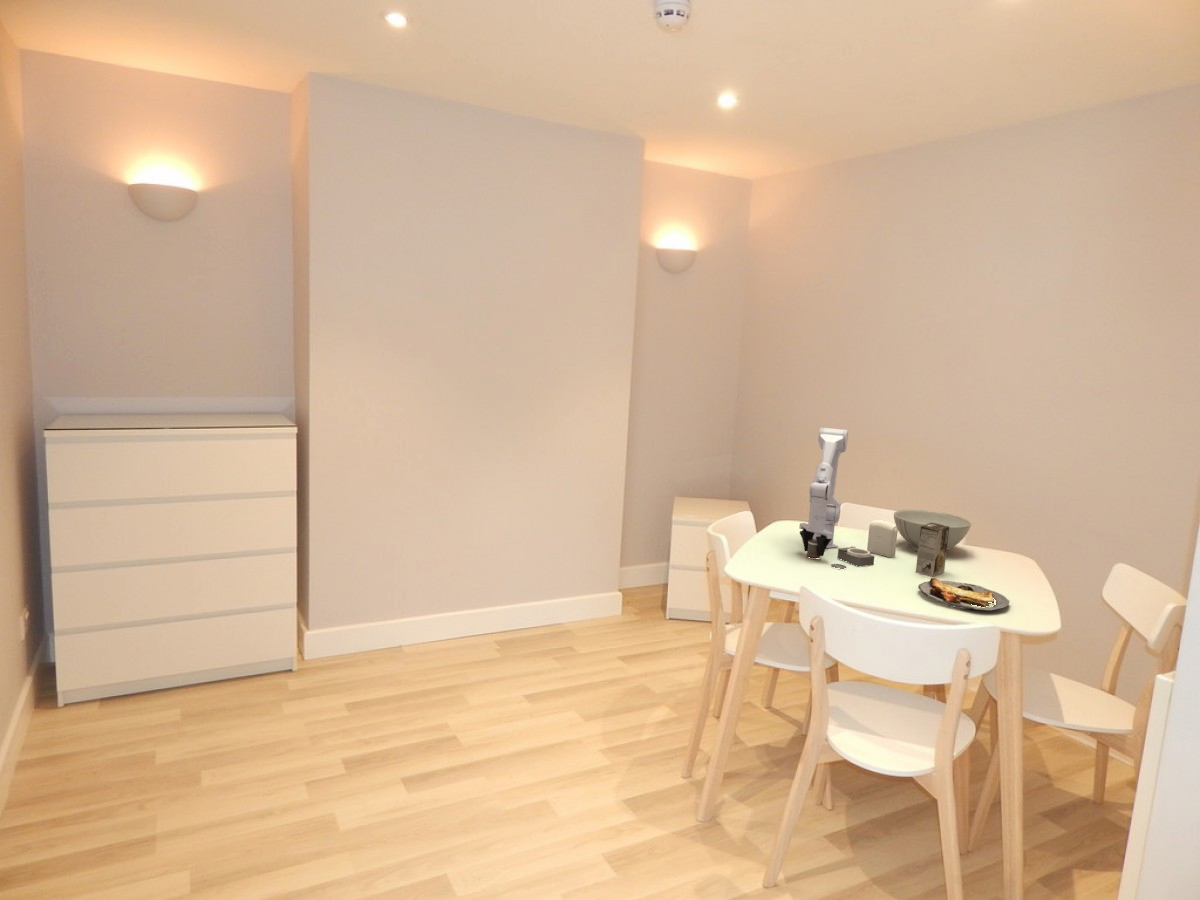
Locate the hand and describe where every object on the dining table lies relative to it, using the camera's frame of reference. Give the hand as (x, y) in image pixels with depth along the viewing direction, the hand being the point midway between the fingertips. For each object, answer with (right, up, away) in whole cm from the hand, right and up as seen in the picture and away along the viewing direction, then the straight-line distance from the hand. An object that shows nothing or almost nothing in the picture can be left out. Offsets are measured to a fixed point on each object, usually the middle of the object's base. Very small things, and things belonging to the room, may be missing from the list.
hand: (813, 553), depth 272 cm
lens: (0, -1, 0) cm, 1 cm away
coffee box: (+36, -5, -10) cm, 38 cm away
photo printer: (+27, -2, +9) cm, 28 cm away
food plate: (+35, -10, -37) cm, 52 cm away
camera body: (+14, -3, -2) cm, 14 cm away
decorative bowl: (+49, -1, +20) cm, 52 cm away
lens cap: (+6, -4, -10) cm, 12 cm away
